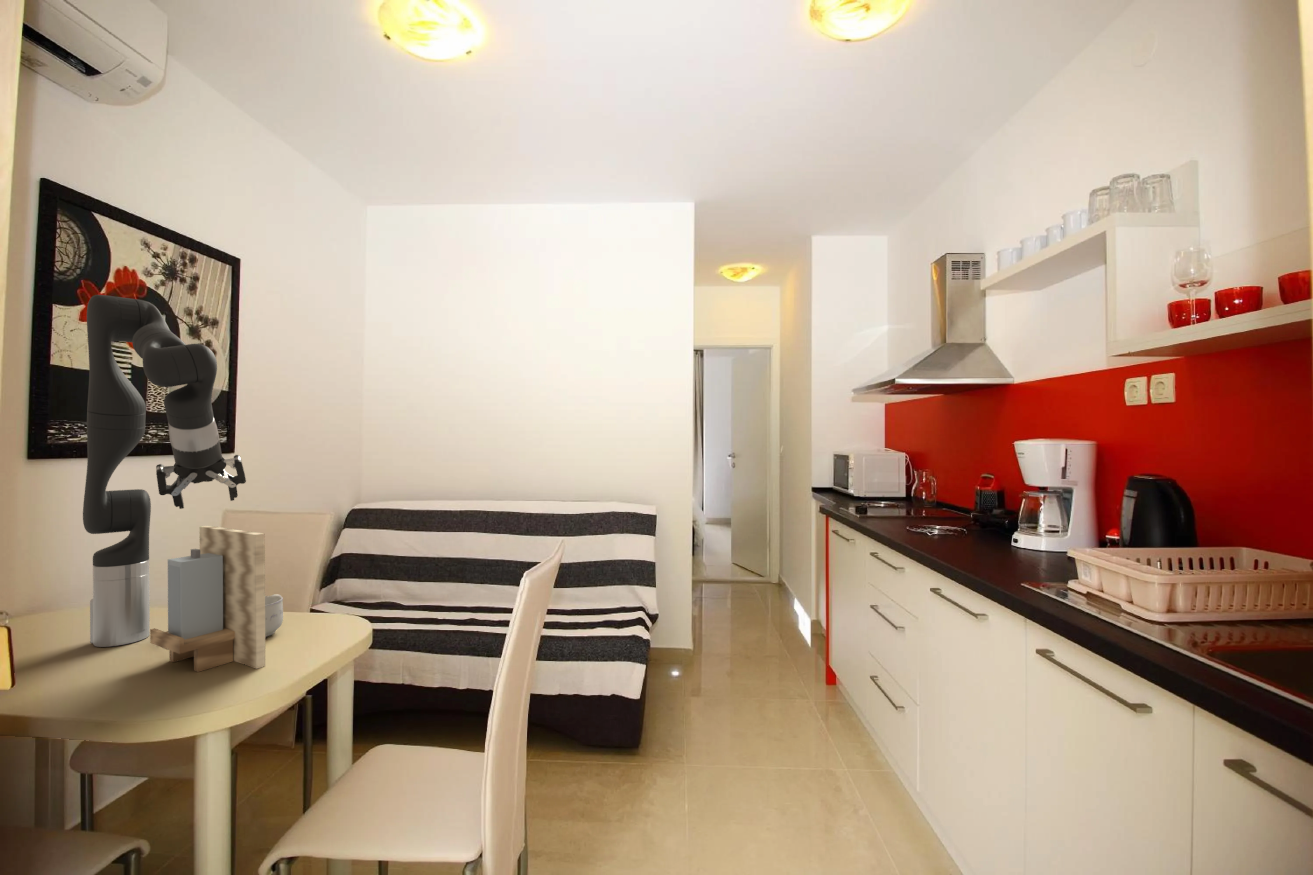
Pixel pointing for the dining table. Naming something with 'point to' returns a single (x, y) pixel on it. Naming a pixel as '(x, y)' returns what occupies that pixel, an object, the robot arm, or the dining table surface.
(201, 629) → the bottle
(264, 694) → the dining table surface
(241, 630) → the wooden display stand
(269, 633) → the teacup
